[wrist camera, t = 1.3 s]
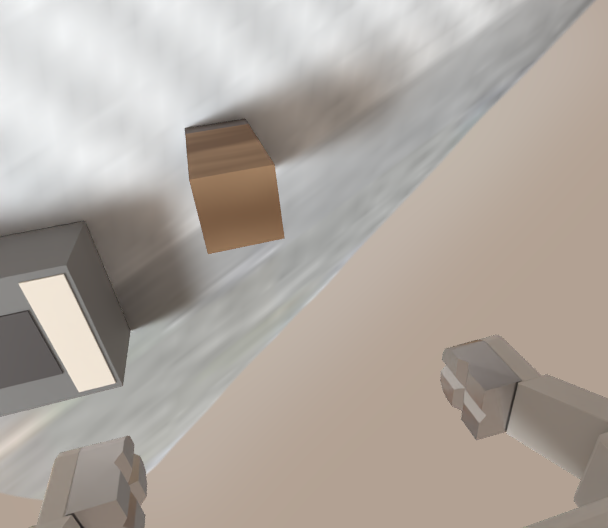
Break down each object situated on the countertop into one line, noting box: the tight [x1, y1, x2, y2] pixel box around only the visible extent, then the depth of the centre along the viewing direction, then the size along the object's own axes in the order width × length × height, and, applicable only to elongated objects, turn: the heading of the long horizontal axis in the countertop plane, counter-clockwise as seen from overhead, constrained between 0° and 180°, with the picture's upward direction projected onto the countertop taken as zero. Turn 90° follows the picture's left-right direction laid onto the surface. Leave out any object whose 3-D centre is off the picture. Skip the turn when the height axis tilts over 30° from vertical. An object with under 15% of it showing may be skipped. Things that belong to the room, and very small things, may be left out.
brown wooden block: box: [185, 119, 284, 254], centre depth 25 cm, size 4×4×10 cm
